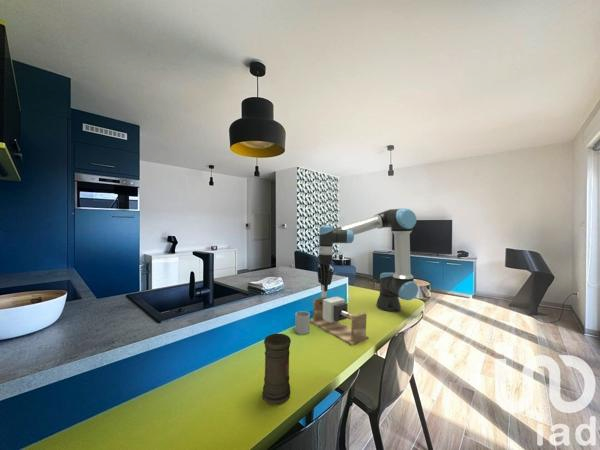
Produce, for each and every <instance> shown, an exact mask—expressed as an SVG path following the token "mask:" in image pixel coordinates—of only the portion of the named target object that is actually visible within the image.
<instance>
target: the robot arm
mask: <svg viewBox="0 0 600 450" xmlns="http://www.w3.org/2000/svg"><path fill="white" fill-rule="evenodd" d="M416 224H417V216H416V213H415V212H414V211H413V210H411V209H410V208H393V209H392V208H390V209H388V210H387V209H386V210H384V211H382V212H379V213H376V214H373V216H371V217H368V218H365V219H362V220H359V221H355V222H352V223H351V222H350V223H348V224H345V225H341V226H339V227H335V228H334V226H333V225H321V226H320V227H319V232H318V233H319V237H318V239H319V240H318V264H316V265H315V267H316V272H317V281H318V283H320V290H321V291H320V292H321V294H320V295H321V297H326V298H328V297H327V296H328V291H329V287H328V286H330V285H331V284H332V280H333V275H334V272H335V270H336V269H335V268H334V267H332V261H333V246H334V245H333V244H352V243H353V242H354V239H355V235H358V234H362V233H366V232H368V231H371V230H375V229H378V230H380V229H383V228H384V229H385V228H390V231H391V233H392V234H393V239H394V246H393V247H394V269H395V270H394V271H395V272H382V273H380V275H379V295H378V299H377V301H376V308H378V309H380V310H381V311H386V312H393V313H395V312H400V311H402V304H401V303H400V302H401V301H400V299H401V300H404V301H412V300H414V299H415V298H416V296H417V295H418V293H419V285H418V284H417V283H416V282H415V281H414V279H415V278H414V275H412V274H411V243H410V242H411V237H410V236H411V235H410V234H411V233H412V232H413V228H414V227H415V225H416ZM321 297H320V298H321Z"/></svg>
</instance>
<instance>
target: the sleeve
mask: <svg viewBox="0 0 600 450" xmlns="http://www.w3.org/2000/svg"><path fill="white" fill-rule="evenodd" d="M345 301H346V299H345V298H342V297H340V296H332V297H327V299H323V319H325V320H327V321H328V322H330V323H331V322H334V305H337V304H341V303H346V302H345ZM341 310H342V309H341ZM339 315H340V314H339Z"/></svg>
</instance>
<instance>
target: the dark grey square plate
mask: <svg viewBox="0 0 600 450" xmlns="http://www.w3.org/2000/svg"><path fill="white" fill-rule="evenodd" d="M340 309H342V310H343V311H346V312H348V303H346V302H345V303H341V304H337V305H334V321H336V322H337V321H338V322H341V321H343V320H346V319H348V318H347V317H345V316H343V315H339V310H340Z"/></svg>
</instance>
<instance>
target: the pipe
mask: <svg viewBox="0 0 600 450" xmlns="http://www.w3.org/2000/svg"><path fill="white" fill-rule="evenodd" d="M320 305H321V306H323V302H322V301H321V302H320ZM339 314H340V315H343V316H345V317H347V319H348V320H351V321H352V316H353V315H354V314H353V313H352V312H348V311H347V312H346V311H343V310H341V309H340V310H339Z"/></svg>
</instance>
